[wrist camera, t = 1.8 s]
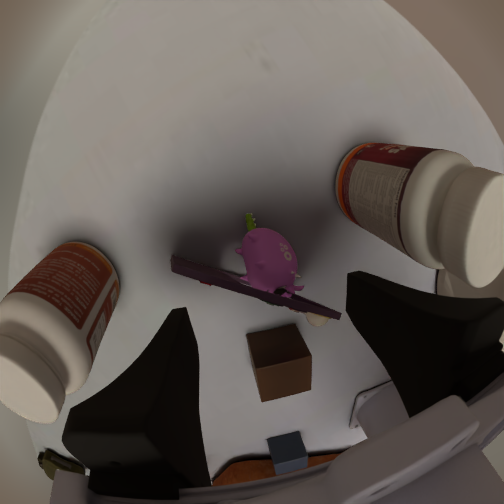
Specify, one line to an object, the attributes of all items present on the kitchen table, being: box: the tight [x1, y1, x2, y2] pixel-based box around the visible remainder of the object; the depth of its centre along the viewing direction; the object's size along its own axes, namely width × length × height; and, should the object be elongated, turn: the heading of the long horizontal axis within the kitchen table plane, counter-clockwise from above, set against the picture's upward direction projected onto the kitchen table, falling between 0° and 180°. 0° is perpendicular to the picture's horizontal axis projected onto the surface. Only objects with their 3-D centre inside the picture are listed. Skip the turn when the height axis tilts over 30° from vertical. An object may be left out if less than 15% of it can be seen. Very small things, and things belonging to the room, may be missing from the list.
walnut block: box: [246, 324, 312, 402], centre depth 20 cm, size 4×4×4 cm
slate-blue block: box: [267, 431, 308, 475], centre depth 27 cm, size 4×4×4 cm
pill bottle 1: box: [0, 242, 119, 424], centre depth 12 cm, size 6×6×11 cm
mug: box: [437, 267, 504, 352], centre depth 19 cm, size 14×11×10 cm
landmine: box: [38, 450, 89, 480], centre depth 26 cm, size 14×3×15 cm
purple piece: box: [170, 213, 342, 326], centre depth 16 cm, size 7×5×9 cm
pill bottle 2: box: [335, 143, 504, 288], centre depth 13 cm, size 6×6×11 cm
